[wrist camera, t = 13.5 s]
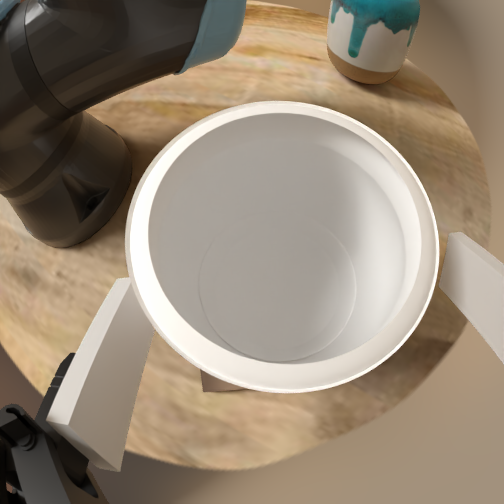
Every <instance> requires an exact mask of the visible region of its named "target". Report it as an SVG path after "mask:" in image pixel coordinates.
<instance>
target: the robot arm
mask: <svg viewBox="0 0 504 504" xmlns="http://www.w3.org/2000/svg"><path fill="white" fill-rule="evenodd" d="M245 10H246V0H25V1H23V2H22V3H20V0H1V1H0V194H2V195H3V196H4V197H5V198H7V200H8V201H9V203H10V204H11V206H12V207H13V209H14V210H15V212H16V213H17V215H18V216H19V218H20V219H21V220H22V222H23V224H24V226H25V228H26V229H27V231H28V232H29V233H30V234H31V235H32V236H33V237H35V238H36V239H38V240H40V241H41V242H43V243H45V244H47V245H49V246H52V247H57V248H63V247H69V246H73V245H76V244H78V243H80V242H82V241H84V240H86V239H87V238H89V237H90V236H92V235H93V234H95V233H96V232H97V231H98V230H99V229H100V228H101V227H102V226H104V224H105V223H106V222H107V221H108V220H109V219H110V218H111V217H112V215H113V214H114V213H115V211H116V210H117V208H118V207H119V205H120V203H121V202H122V200H123V198H124V196H125V194H126V191H127V189H128V186H129V182H130V178H131V173H132V159H131V155H130V152H129V149H128V148H127V146H126V144H125V143H124V141H123V140H122V138H121V137H120V135H119V134H118V133H117V132H116V131H115V130H114V129H112V128H111V127H109V126H107V125H104V124H103V123H101V122H100V121H99V120H97V119H96V118H94V117H93V116H92V115H90V114H89V113H87V112H86V111H84V110H86V109H88V108H90V107H92V106H94V105H96V104H98V103H100V102H102V101H104V100H107V99H109V98H111V97H113V96H115V95H118V94H120V93H122V92H125V91H127V90H130V89H132V88H135V87H137V86H140V85H142V84H145V83H147V82H150V81H153V80H156V79H158V78H161V77H164V76H167V75H170V74H174V75H179V74H182V73H183V72H185V71H186V70H187V69H189V68H192V67H194V66H197V65H201V64H204V63H207V62H210V61H213V60H216V59H219V58H221V57H223V56H224V55H226V54H227V52H228V51H229V50H230V49H231V48H232V47H233V46H234V45H235V43H236V42H237V40H238V38H239V35H240V33H241V30H242V26H243V22H244V17H245ZM439 288H440V289H441V290H442V291H443V292H444V293H445V294H446V295H447V296H448V297H449V298H450V300H451V301H452V302H453V303H454V304H455V305H456V306H457V307H458V309H459V310H460V311H461V312H462V313H463V314H464V315H465V317H466V318H467V319H468V320H469V321H470V322H471V324H472V325H473V326H474V327H475V328H476V330H477V331H478V332H479V333H480V335H481V336H482V337H483V338H484V340H485V341H486V342H487V343H488V345H489V346H490V347H491V348H492V350H493V351H494V352H495V353H496V355H497V356H498V357H499V359H500V360H501V362H502V363H503V364H504V264H503V263H502V262H501V261H499V260H498V259H497V258H495V257H494V256H493V255H492V254H490V253H489V252H488V251H487V250H485V249H484V248H483V247H481V246H480V245H479V244H477V243H476V242H475V241H473V240H472V239H470V238H469V237H468V236H466V235H465V234H464V233H462V232H454V233H449V236H448V242H447V248H446V254H445V259H444V264H443V269H442V273H441V278H440V282H439ZM153 334H154V328H153V326H152V324H151V323H150V321H149V320H148V318H147V316H146V315H145V313H144V311H143V309H142V308H141V306H140V304H139V302H138V299H137V297H136V295H135V292H134V290H133V287H132V284H131V280H130V277H127V278H119V279H117V280H116V281H115V283H114V285H113V286H112V288H111V290H110V291H109V293H108V295H107V297H106V298H105V300H104V302H103V304H102V305H101V307H100V309H99V311H98V312H97V314H96V316H95V318H94V320H93V322H92V323H91V325H90V327H89V329H88V331H87V333H86V335H85V337H84V339H83V340H82V342H81V344H80V346H79V348H78V350H77V352H76V353H70V354H69V355H68V356H67V357H66V358H65V359H64V360H63V361H62V362H61V364H60V366H59V368H58V370H57V372H56V374H55V377H54V378H53V380H52V382H51V384H50V385H51V387H49V388H48V391H47V393H46V395H45V397H44V399H43V402H42V404H41V406H40V408H39V411H38V413H37V415H36V418H35V420H33V419H32V418H31V417H30V416H29V415H28V414H27V413H26V411H25V410H24V409H23V408H22V407H20V406H19V405H17V404H10V405H7V406H5V407H3V408H2V409H1V410H0V504H109V503H108V501H107V499H106V498H105V496H104V494H103V493H102V491H101V489H100V487H99V486H98V484H97V482H96V480H95V478H94V476H93V474H92V473H91V472H90V470H89V469H88V468H87V466H88V462H89V461H91V462H92V463H93V464H94V465H96V466H97V467H98V468H101V469H107V470H112V471H119V472H120V468H121V462H122V458H123V453H124V448H125V444H126V439H127V434H128V430H129V426H130V421H131V417H132V413H133V409H134V404H135V400H136V396H137V392H138V389H139V385H140V381H141V377H142V373H143V370H144V366H145V362H146V359H147V355H148V352H149V348H150V345H151V341H152V338H153ZM6 482H7V483H8V484H10V485H11V486H12V487H13V490H12V493H10V492H9V491H7V489H6Z"/></svg>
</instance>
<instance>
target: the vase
mask: <svg viewBox="0 0 504 504" xmlns="http://www.w3.org/2000/svg"><path fill="white" fill-rule="evenodd" d="M419 13H420V4H419V0H331V6H330V12H329V20H328V30H327V50H328V55H329V58H330V60H331V62H332V64H333V65H334V66H335V68H336V69H337V70H338V71H339V72H341V73H342V74H343V75H345V76H347V77H348V78H350V79H353V80H355V81H358V82H361V83H366V84H381V83H384V82H387V81H388V80H390V79H392V78H393V77H394V76H395V75H396V74H397V73H398V71H399V70H400V68H401V66H402V64H403V62H404V60H405V58H406V56H407V54H408V51H409V49H410V46H411V43H412V41H413V38H414V35H415V31H416V28H417V24H418V19H419Z"/></svg>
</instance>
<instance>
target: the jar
mask: <svg viewBox="0 0 504 504" xmlns="http://www.w3.org/2000/svg"><path fill="white" fill-rule="evenodd" d="M125 254H126V262H127V268H128V273H129V277H130V280H131V284H132V287H133V290H134V292H135V295H136V297H137V299H138V302H139V304H140V306H141V308H142V309H143V311H144V313H145V315H146V316H147V318H148V320H149V321H150V323H151V324H152V325H153V327H154V328H155V329H156V331H157V332H158V333H159V334H160V336H161V337H162V338H163V339H164V340H165V341H166V342H167V343H168V344H169V345H170V346H171V347H172V348H173V349H174V350H175V351H176V352H177V353H179V354H180V355H181V356H182V357H184V358H185V359H186V360H188V361H189V362H190V363H192V364H193V365H195V366H196V367H198V368H200V369H201V370H203V371H205V372H206V373H208V374H210V375H212V376H214V377H216V378H219V379H221V380H223V381H226V382H228V383H231V384H234V385H237V386H241V387H244V388H248V389H253V390H258V391H264V392H273V393H302V392H311V391H317V390H322V389H327V388H331V387H334V386H337V385H340V384H343V383H346V382H349V381H351V380H353V379H355V378H358V377H360V376H362V375H364V374H365V373H367V372H369V371H371V370H372V369H374V368H375V367H377V366H378V365H380V364H381V363H383V362H384V361H385V360H386V359H388V358H389V357H390V356H391V355H392V354H394V353H395V352H396V351H397V350H398V349H399V348H400V347H401V346H402V345H403V344H404V342H405V341H406V340H407V339H408V338H409V336H410V335H411V334H412V333H413V331H414V330H415V328H416V327H417V325H418V324H419V322H420V320H421V319H422V317H423V315H424V313H425V311H426V309H427V307H428V304H429V302H430V299H431V297H432V294H433V291H434V287H435V283H436V279H437V273H438V265H439V238H438V230H437V225H436V220H435V216H434V212H433V209H432V206H431V203H430V201H429V198H428V196H427V194H426V191H425V189H424V187H423V185H422V184H421V182H420V180H419V178H418V177H417V175H416V174H415V172H414V171H413V169H412V168H411V166H410V165H409V164H408V163H407V161H406V160H405V159H404V158H403V157H402V155H401V154H400V153H399V152H398V151H397V150H396V149H395V148H394V147H393V146H392V145H391V144H390V143H388V142H387V141H386V140H385V139H384V138H383V137H381V136H380V135H379V134H377V133H376V132H375V131H373V130H372V129H370V128H369V127H367V126H365V125H364V124H362V123H360V122H359V121H357V120H355V119H353V118H351V117H349V116H346V115H344V114H342V113H339V112H337V111H334V110H331V109H328V108H324V107H321V106H317V105H312V104H307V103H301V102H292V101H263V102H254V103H248V104H243V105H239V106H235V107H231V108H228V109H225V110H222V111H219V112H217V113H214V114H212V115H209V116H207V117H205V118H203V119H201V120H199V121H198V122H196V123H194V124H193V125H191V126H189V127H188V128H186V129H185V130H184V131H182V132H181V133H180V134H178V135H177V136H176V137H175V138H173V139H172V140H171V141H170V142H169V143H168V144H167V145H166V146H165V147H164V148H163V149H162V150H161V151H160V152H159V153H158V155H157V156H156V157H155V158H154V159H153V161H152V162H151V163H150V165H149V166H148V168H147V169H146V171H145V173H144V174H143V176H142V178H141V180H140V182H139V184H138V186H137V188H136V190H135V193H134V195H133V198H132V201H131V204H130V208H129V212H128V217H127V222H126V231H125Z"/></svg>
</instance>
